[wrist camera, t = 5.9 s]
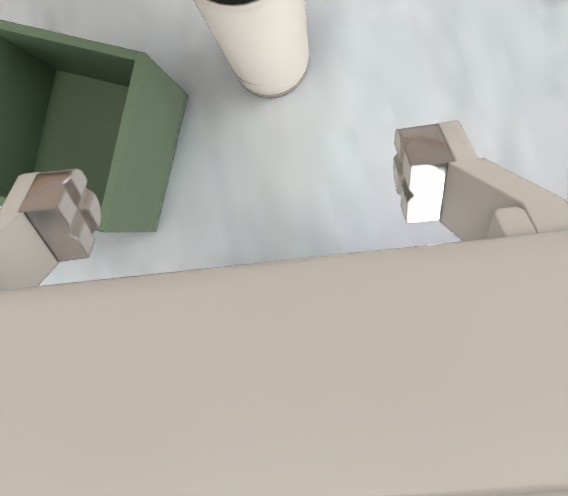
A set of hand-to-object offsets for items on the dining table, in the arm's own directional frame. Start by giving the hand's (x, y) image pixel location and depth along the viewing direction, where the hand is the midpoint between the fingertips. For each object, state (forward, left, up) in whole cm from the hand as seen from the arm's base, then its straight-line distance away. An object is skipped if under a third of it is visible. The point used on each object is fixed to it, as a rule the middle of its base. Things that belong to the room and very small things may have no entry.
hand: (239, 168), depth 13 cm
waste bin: (+17, -1, -28) cm, 33 cm away
